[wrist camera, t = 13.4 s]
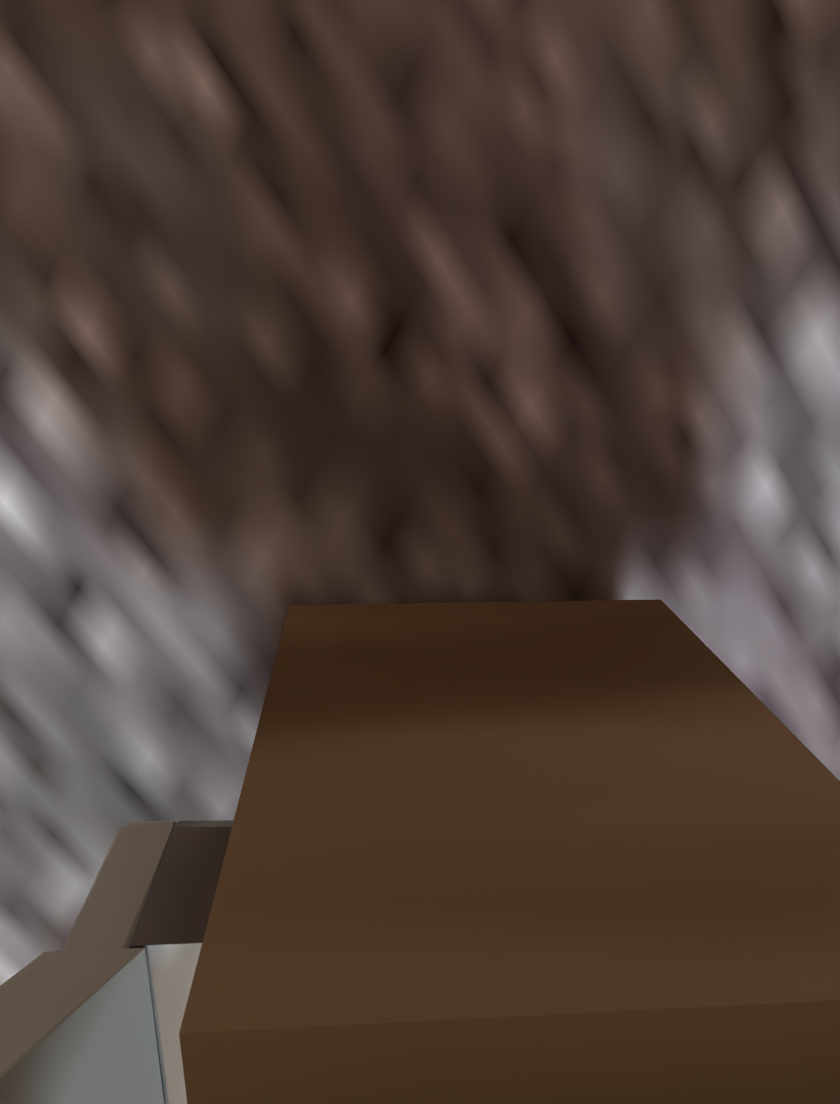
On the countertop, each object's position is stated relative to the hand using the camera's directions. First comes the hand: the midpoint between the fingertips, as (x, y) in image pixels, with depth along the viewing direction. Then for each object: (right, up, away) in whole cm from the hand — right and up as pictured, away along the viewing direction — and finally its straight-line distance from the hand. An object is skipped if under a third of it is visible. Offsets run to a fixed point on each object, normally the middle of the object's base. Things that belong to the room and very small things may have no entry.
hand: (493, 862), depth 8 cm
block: (0, +1, +2) cm, 2 cm away
